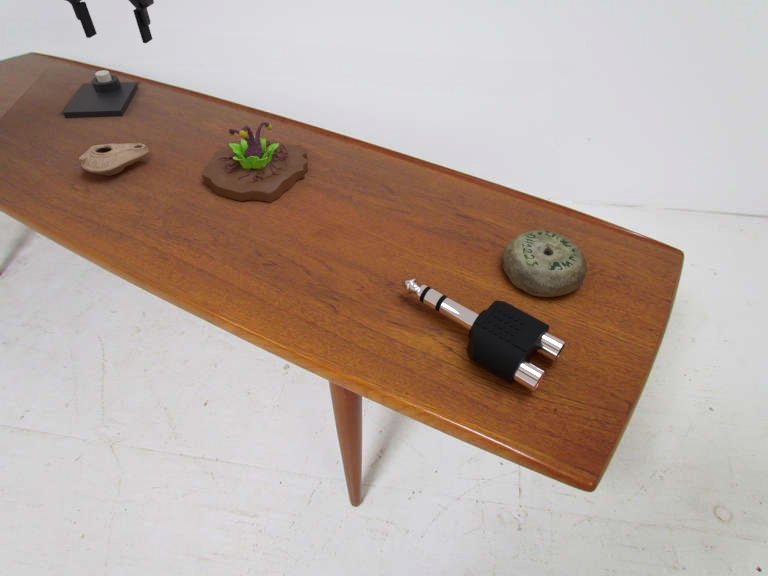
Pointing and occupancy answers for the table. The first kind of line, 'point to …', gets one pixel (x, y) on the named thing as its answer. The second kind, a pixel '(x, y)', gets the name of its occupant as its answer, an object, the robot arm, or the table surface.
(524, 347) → the audio adapter
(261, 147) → the plant
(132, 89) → the scale
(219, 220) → the table surface
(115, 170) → the pottery oil lamp
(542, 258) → the weight
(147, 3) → the robot arm
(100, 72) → the button
